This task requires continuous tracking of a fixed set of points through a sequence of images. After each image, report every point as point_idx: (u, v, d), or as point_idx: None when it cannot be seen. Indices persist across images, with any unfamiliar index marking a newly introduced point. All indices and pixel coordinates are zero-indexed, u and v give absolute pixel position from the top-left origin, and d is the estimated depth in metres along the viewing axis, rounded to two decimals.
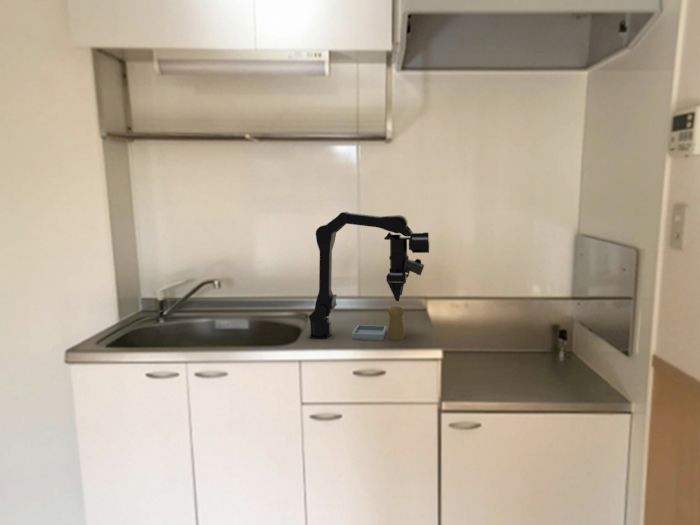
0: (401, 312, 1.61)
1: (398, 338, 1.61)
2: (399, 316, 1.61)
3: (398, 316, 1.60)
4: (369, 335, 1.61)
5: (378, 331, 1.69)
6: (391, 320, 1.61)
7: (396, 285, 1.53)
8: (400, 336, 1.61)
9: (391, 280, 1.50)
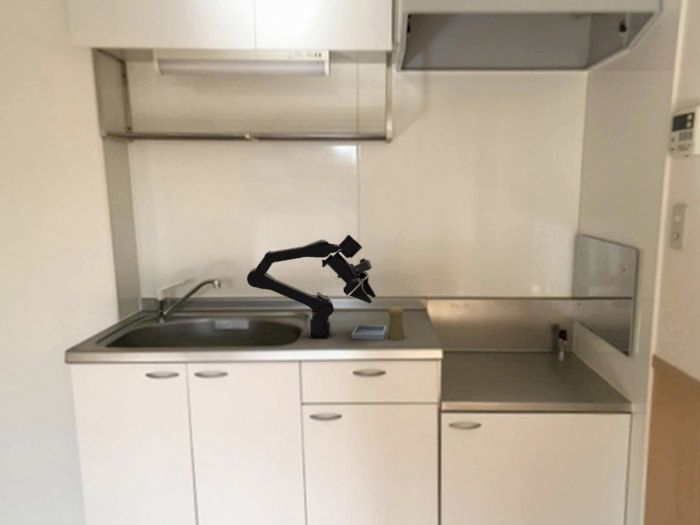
0: (401, 312, 1.61)
1: (398, 338, 1.61)
2: (399, 316, 1.61)
3: (398, 316, 1.60)
4: (369, 335, 1.61)
5: (378, 331, 1.69)
6: (391, 320, 1.61)
7: (358, 292, 1.58)
8: (400, 336, 1.61)
9: (349, 291, 1.55)
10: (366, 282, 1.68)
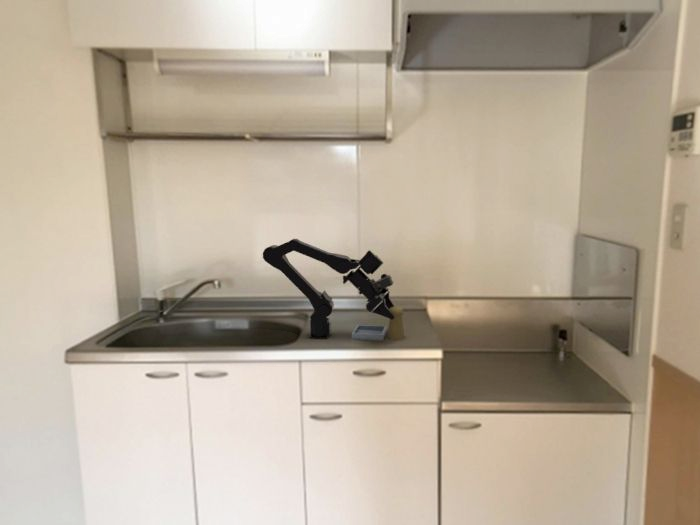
0: (401, 312, 1.61)
1: (398, 338, 1.61)
2: (399, 316, 1.61)
3: (398, 316, 1.60)
4: (369, 335, 1.61)
5: (378, 331, 1.69)
6: (391, 320, 1.61)
7: (381, 308, 1.57)
8: (400, 336, 1.61)
9: (372, 308, 1.54)
10: (387, 297, 1.67)
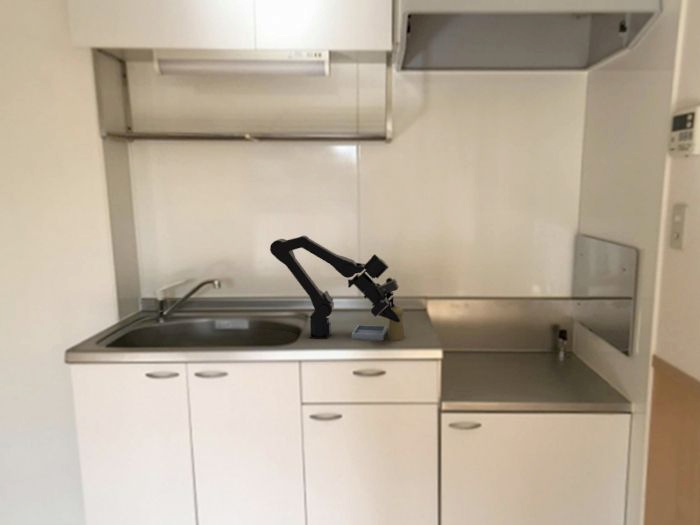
0: (401, 312, 1.61)
1: (398, 338, 1.61)
2: (399, 316, 1.61)
3: (398, 316, 1.60)
4: (369, 335, 1.61)
5: (378, 331, 1.69)
6: (391, 320, 1.61)
7: (387, 311, 1.59)
8: (400, 336, 1.61)
9: (377, 312, 1.54)
10: (391, 302, 1.65)
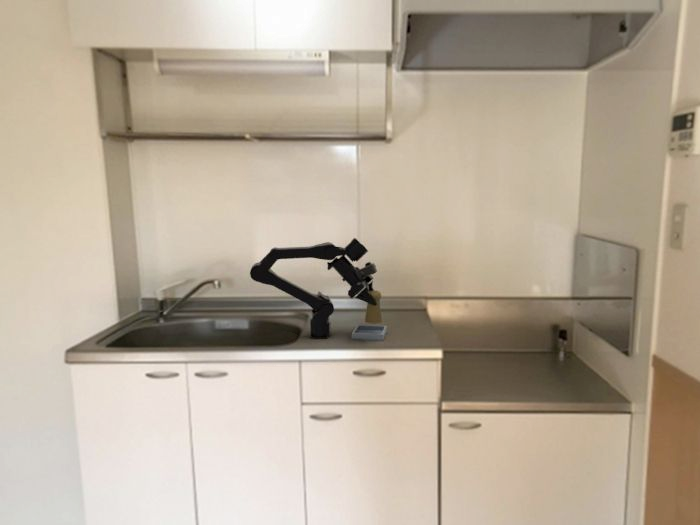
0: (379, 296, 1.62)
1: (375, 321, 1.62)
2: (376, 300, 1.62)
3: (375, 300, 1.62)
4: (369, 335, 1.61)
5: (378, 331, 1.69)
6: None
7: (364, 294, 1.60)
8: (377, 320, 1.62)
9: (353, 295, 1.56)
10: (370, 287, 1.67)
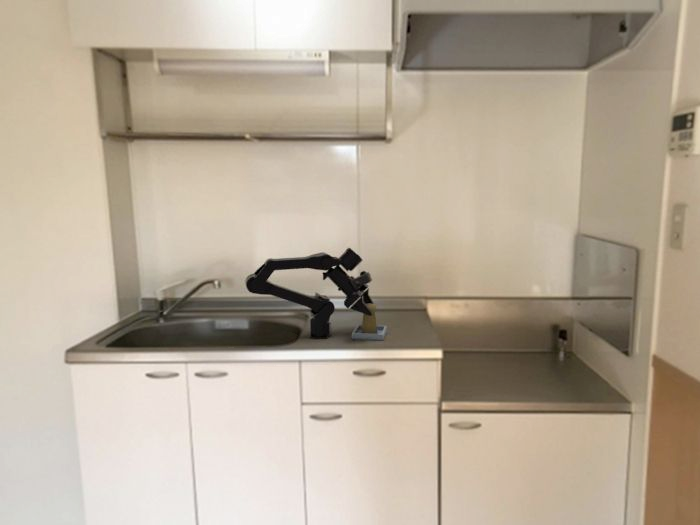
0: (374, 309, 1.63)
1: None
2: (372, 313, 1.63)
3: None
4: (369, 335, 1.61)
5: (378, 331, 1.69)
6: (364, 317, 1.64)
7: (359, 304, 1.60)
8: (373, 332, 1.64)
9: (349, 304, 1.57)
10: (366, 294, 1.70)
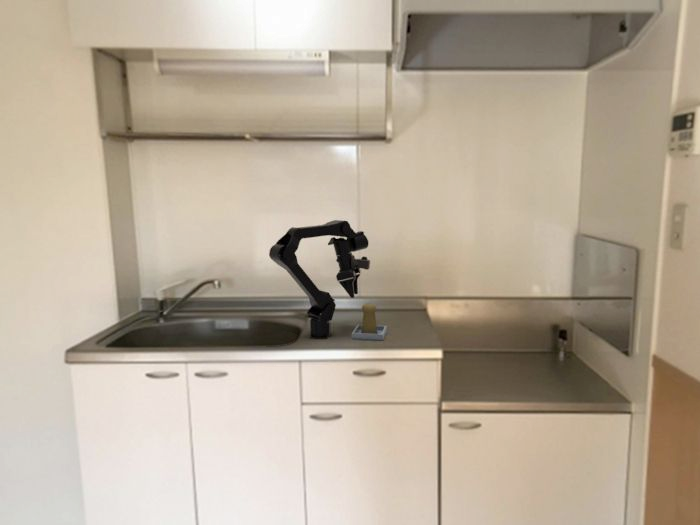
0: (374, 309, 1.63)
1: None
2: (372, 313, 1.63)
3: (371, 313, 1.63)
4: (369, 335, 1.61)
5: (378, 331, 1.69)
6: (364, 317, 1.64)
7: (348, 283, 1.64)
8: (373, 332, 1.64)
9: (341, 278, 1.60)
10: (356, 278, 1.74)
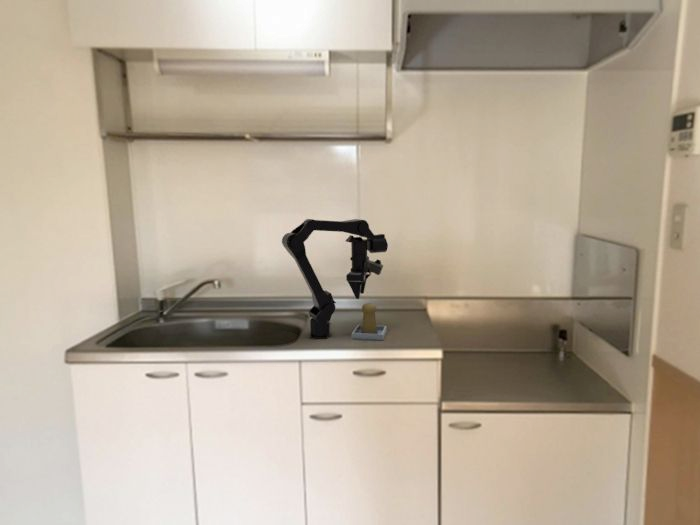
0: (374, 309, 1.63)
1: None
2: (372, 313, 1.63)
3: (371, 313, 1.63)
4: (369, 335, 1.61)
5: (378, 331, 1.69)
6: (364, 317, 1.64)
7: (356, 284, 1.65)
8: (373, 332, 1.64)
9: (350, 279, 1.62)
10: (365, 278, 1.75)
